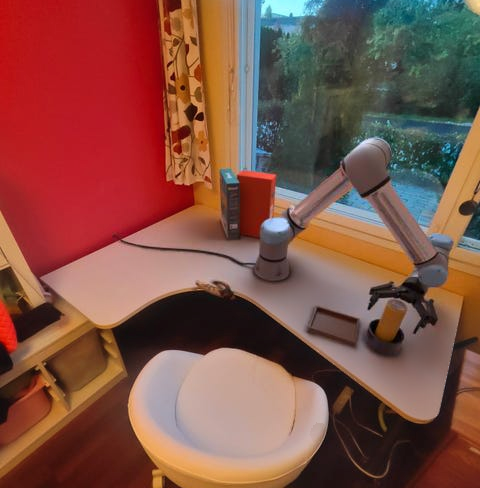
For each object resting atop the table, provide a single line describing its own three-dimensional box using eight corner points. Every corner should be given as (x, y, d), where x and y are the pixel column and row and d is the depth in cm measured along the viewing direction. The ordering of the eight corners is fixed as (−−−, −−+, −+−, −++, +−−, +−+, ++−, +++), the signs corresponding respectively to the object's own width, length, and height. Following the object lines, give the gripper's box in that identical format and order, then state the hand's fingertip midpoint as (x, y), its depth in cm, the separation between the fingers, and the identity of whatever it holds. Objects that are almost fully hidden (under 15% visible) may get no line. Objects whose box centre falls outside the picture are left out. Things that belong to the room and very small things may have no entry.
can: (372, 344, 92) (386, 307, 83) (373, 332, 96) (387, 296, 87) (391, 350, 90) (408, 314, 81) (391, 338, 94) (408, 301, 85)
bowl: (363, 348, 91) (367, 337, 88) (366, 326, 99) (370, 315, 96) (398, 361, 88) (404, 349, 85) (399, 336, 96) (404, 325, 93)
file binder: (267, 239, 148) (271, 179, 130) (236, 233, 153) (236, 174, 135) (272, 232, 154) (276, 174, 136) (242, 226, 159) (243, 169, 141)
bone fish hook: (242, 292, 114) (205, 278, 121) (242, 283, 112) (204, 269, 119) (230, 306, 107) (191, 290, 114) (230, 296, 105) (191, 280, 112)
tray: (307, 331, 97) (308, 327, 96) (315, 309, 106) (316, 305, 105) (354, 347, 92) (355, 342, 91) (358, 322, 101) (359, 318, 99)
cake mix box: (239, 238, 149) (239, 182, 132) (227, 239, 148) (226, 183, 131) (231, 220, 166) (230, 168, 150) (221, 220, 165) (219, 169, 149)
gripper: (452, 312, 93) (432, 351, 80) (376, 278, 107) (349, 306, 95) (462, 295, 89) (442, 332, 76) (382, 262, 103) (355, 289, 91)
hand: (391, 318), depth 86 cm, fingers open, 13 cm apart
